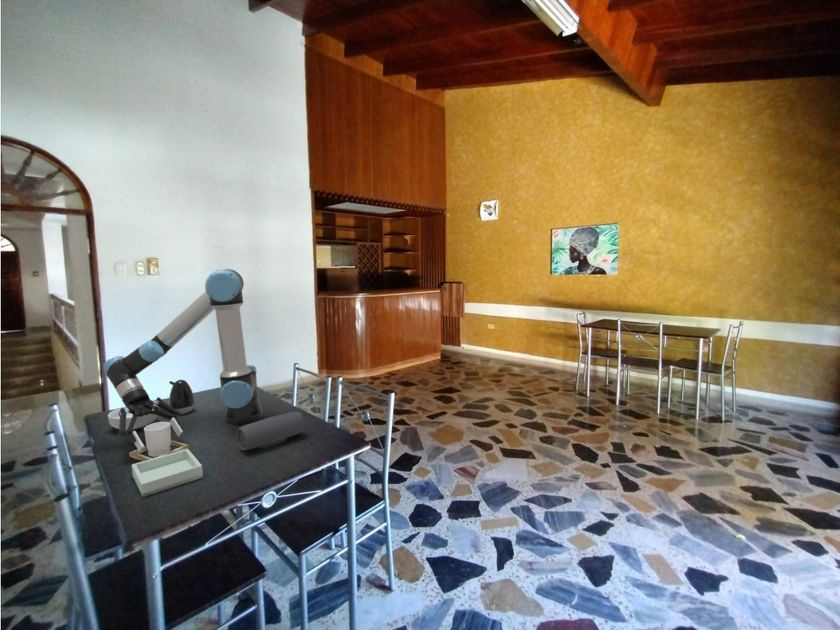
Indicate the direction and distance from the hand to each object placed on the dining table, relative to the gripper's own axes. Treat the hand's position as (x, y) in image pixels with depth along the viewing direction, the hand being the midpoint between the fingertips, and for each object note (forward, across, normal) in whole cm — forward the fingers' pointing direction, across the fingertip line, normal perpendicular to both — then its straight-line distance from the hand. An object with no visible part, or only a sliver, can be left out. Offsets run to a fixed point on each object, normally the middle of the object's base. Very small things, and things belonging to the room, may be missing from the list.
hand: (161, 441), depth 145 cm
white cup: (+2, 0, -5) cm, 5 cm away
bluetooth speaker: (+24, -24, +16) cm, 37 cm away
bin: (+15, +9, +9) cm, 20 cm away
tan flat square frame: (+2, 0, -5) cm, 5 cm away
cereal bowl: (-21, -10, -28) cm, 36 cm away
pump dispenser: (-20, -29, -26) cm, 44 cm away
